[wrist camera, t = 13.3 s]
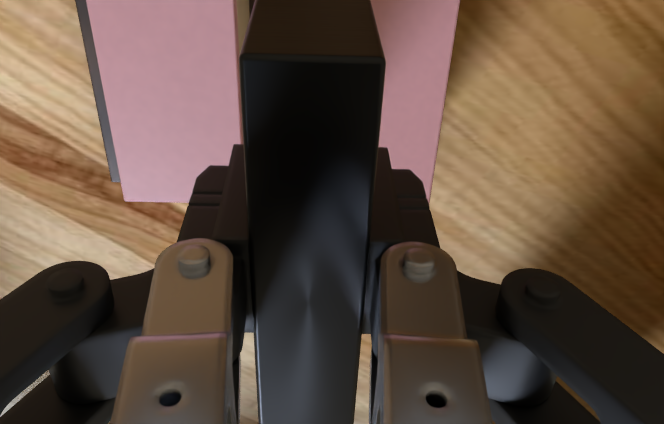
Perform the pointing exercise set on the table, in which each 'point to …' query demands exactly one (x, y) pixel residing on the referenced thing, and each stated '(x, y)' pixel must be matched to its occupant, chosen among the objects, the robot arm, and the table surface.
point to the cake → (170, 89)
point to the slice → (415, 79)
